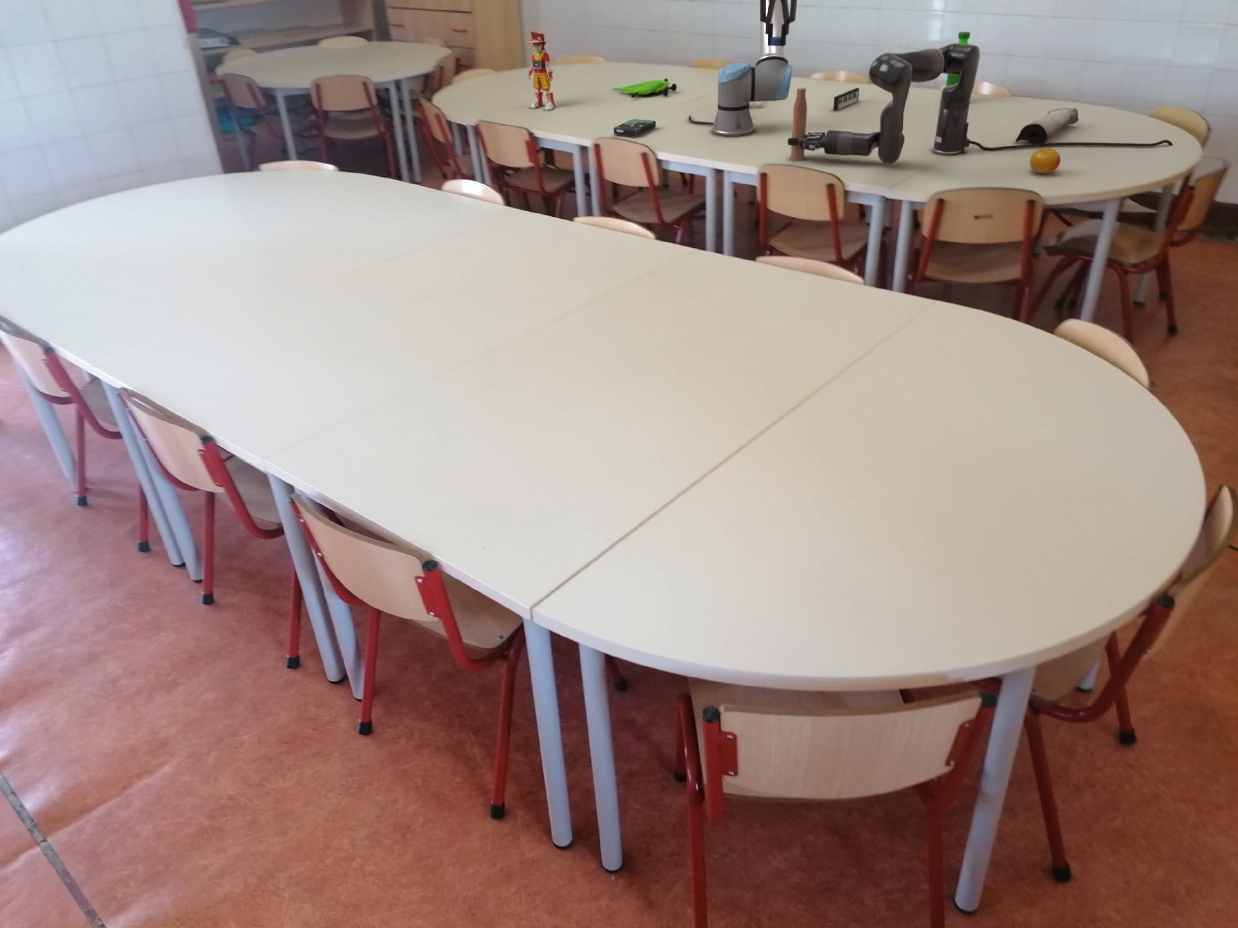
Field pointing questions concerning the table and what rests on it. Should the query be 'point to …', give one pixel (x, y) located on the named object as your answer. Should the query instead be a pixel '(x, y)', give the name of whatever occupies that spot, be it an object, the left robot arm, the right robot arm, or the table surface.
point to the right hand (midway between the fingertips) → (790, 139)
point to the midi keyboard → (846, 98)
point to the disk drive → (634, 127)
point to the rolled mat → (1048, 125)
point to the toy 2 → (648, 88)
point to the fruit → (1045, 160)
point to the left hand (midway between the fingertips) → (776, 45)
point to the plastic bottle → (962, 40)
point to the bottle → (799, 123)
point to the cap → (775, 41)
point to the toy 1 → (541, 71)
